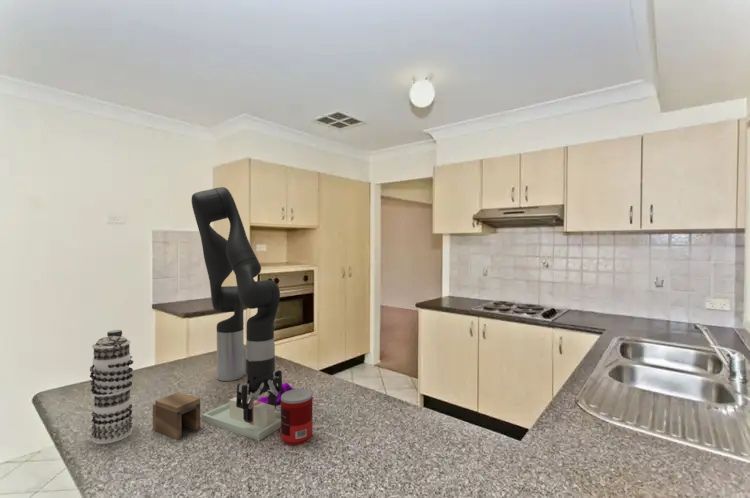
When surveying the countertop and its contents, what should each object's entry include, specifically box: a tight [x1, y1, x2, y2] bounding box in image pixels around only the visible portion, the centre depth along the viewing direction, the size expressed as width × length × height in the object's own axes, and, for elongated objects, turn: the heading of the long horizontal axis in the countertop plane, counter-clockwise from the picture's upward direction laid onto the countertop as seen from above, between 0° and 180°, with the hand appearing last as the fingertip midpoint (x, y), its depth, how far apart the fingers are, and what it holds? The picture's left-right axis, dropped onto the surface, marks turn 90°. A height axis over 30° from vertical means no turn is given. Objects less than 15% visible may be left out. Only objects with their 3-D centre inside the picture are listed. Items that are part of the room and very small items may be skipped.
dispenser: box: [152, 391, 201, 440], centre depth 101 cm, size 7×10×8 cm, turn 61°
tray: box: [201, 401, 281, 442], centre depth 105 cm, size 12×22×2 cm, turn 61°
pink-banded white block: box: [229, 396, 276, 428], centre depth 104 cm, size 3×14×5 cm, turn 61°
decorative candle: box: [89, 335, 134, 445], centre depth 97 cm, size 9×9×25 cm
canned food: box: [280, 388, 313, 446], centre depth 97 cm, size 8×8×11 cm
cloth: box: [257, 382, 314, 406], centre depth 120 cm, size 22×19×6 cm
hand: (260, 415), depth 103 cm, fingers open, 8 cm apart
